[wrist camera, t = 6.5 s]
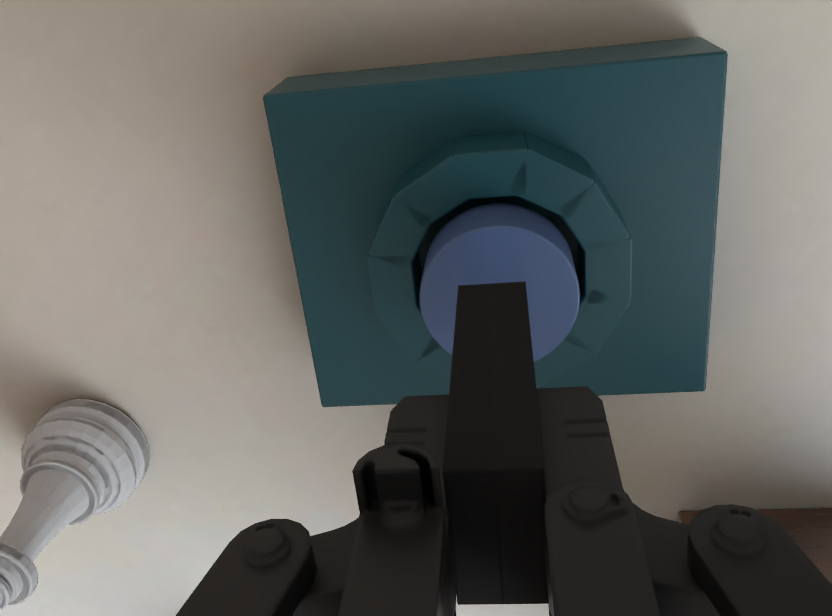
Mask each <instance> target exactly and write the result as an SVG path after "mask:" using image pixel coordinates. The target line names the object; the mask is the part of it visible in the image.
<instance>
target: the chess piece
mask: <svg viewBox="0 0 832 616" xmlns="http://www.w3.org/2000/svg"><path fill="white" fill-rule="evenodd" d="M149 458H150V453H149V448H148V443H147V441H146V439H145V437H144V435H143V433H142V431H141V430H140V429H139V428H138V426H137V425H136V424H135V423H134V422H133V421H132V420H131V419H130V418H129V417H128V416H126V415H125V414H124V413H122V412H121V411H120V410H118V409H116V408H113V407H111V406H109V405H107V404H105V403H101V402H98V401H94V400H87V399H74V400H69V401H64V402H61V403H59V404H58V405H56V406H54V407H52V408H50V409H49V410H48V412H47V413H46V414H45V415H44V416H43V417H42V418H41V419H40V420H39V422H38V423H37V424H36V426H35V428H34V429H33V430H32V432H31V433H30V434H29V435H28V436H27V437H26V438H25V441H24V444H23V446H22V468H23V471H24V473H23V475H22V477H21V480H20V490H21V493H22V496H23V499H22V501H21V503H20V506H19V508H18V510H17V511H16V513H15V515H14V517H13V519H12V520H11V522H10V524H9V526H8V527H7V528H6V530H5V531H4V533H3V534H2V536H1V537H0V610H1V609H3V608H5V607H6V606H7V605H14V604H18V603H21V602H23V601H25V600H26V599H27V598H28V597H29V596H30V595H31V594H32V592H33V591H34V590H35V588H36V585H37V583H38V572H37V569H36V567H35V565H34V564H33V561H34V559H35V558H36V557H37V556H38V554H39V553H40V552H41V551H42V550H43V548H44V547H45V546H46V545H47V544H48V543H49V542H50V541H51V540H52V539H53V538H54V537H55V536H56V535H57V533H58V532H60V531H61V530H62V529H63V528H64V527H65V526H66V525H68V524H70V525H72V524H78V523H82V522H84V521H86V520H88V519H89V518H90V517H91V516H92V515H95V514H101V513H105V512H108V511H111V510H113V509H115V508H117V507H119V506H121V505H122V504H123V503H124V502H125V501H126V500H127V499H128V498H129V497H130V495H131V493H132V491H133V490H134V489H135V488H136V487H137V486H138V485H139V483H140V482H141V480H142V479H143V477H144V475H145V473H146V471H147V469H148V467H149Z"/></svg>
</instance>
